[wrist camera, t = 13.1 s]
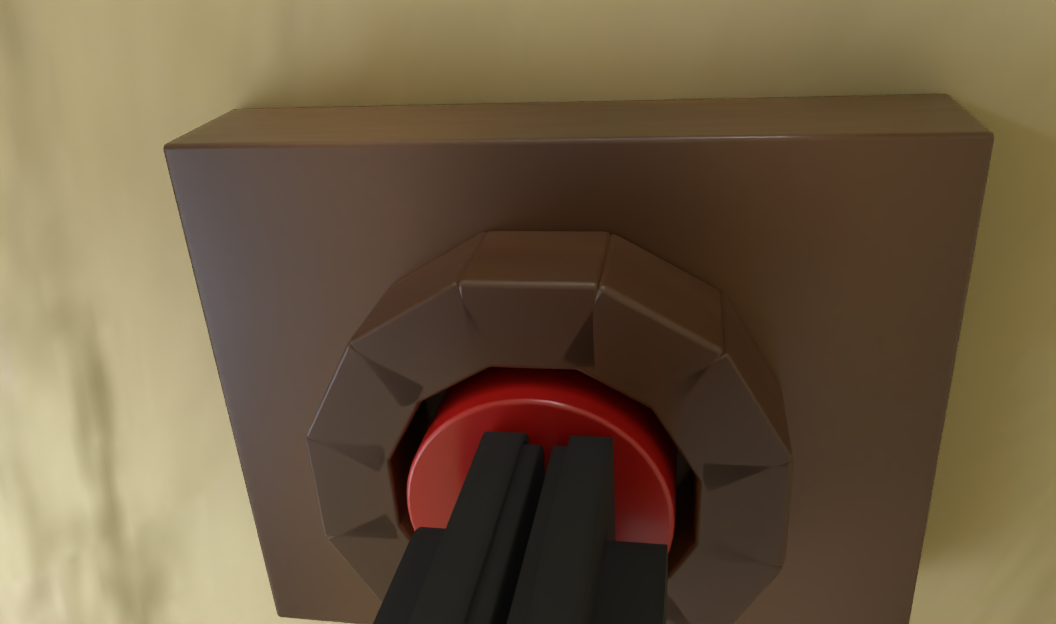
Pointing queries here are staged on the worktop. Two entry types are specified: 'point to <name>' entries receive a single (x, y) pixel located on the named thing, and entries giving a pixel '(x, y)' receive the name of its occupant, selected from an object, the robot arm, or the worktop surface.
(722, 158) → the button box
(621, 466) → the button
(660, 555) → the robot arm
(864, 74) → the worktop surface
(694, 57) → the worktop surface
